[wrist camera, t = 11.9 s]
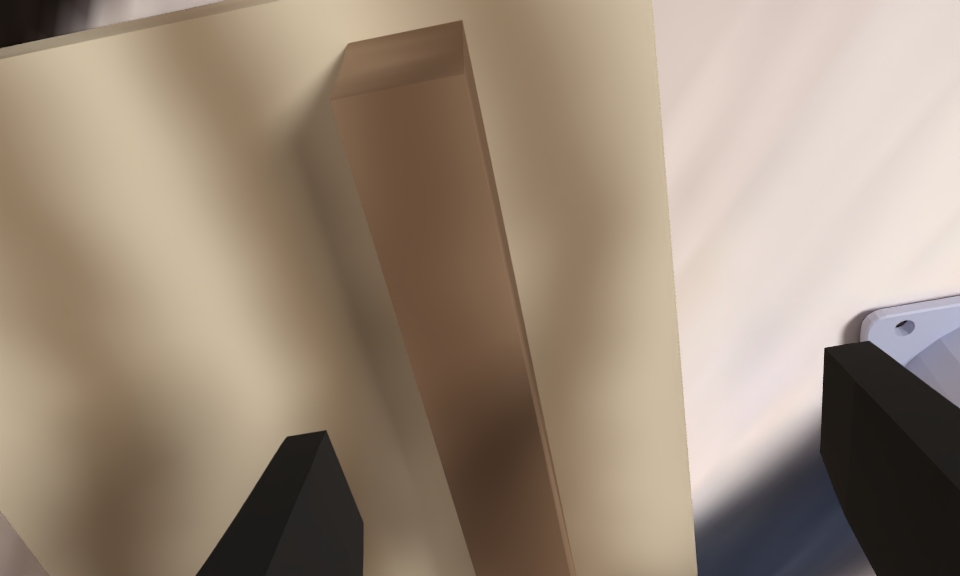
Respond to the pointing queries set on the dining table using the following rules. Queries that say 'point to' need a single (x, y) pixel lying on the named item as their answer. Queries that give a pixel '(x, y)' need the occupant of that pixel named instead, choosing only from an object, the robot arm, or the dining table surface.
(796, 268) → the dining table surface
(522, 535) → the brown wooden bar
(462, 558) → the board
